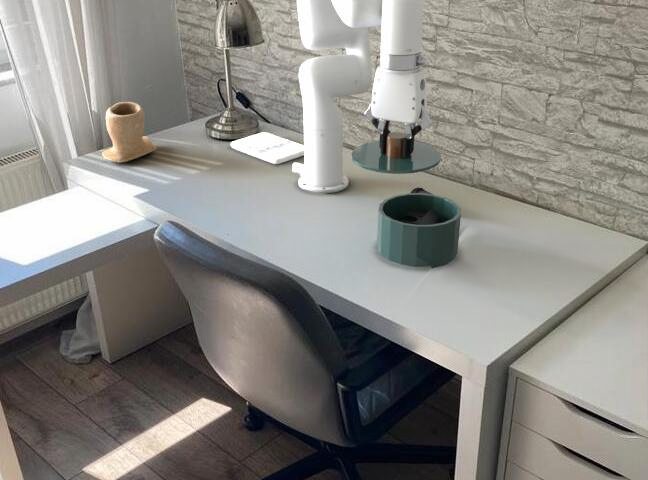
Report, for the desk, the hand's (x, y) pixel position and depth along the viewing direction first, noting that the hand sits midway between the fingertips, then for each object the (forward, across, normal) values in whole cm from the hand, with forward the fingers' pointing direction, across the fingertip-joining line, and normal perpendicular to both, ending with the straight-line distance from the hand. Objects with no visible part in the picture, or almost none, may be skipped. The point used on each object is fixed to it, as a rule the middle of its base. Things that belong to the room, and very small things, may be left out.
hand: (396, 153), depth 158 cm
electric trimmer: (+21, 0, -25) cm, 33 cm away
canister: (+21, -5, -2) cm, 22 cm away
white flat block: (+21, +56, -39) cm, 71 cm away
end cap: (+21, -5, -3) cm, 22 cm away
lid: (+1, 0, 0) cm, 1 cm away
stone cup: (+21, +86, -17) cm, 91 cm away
